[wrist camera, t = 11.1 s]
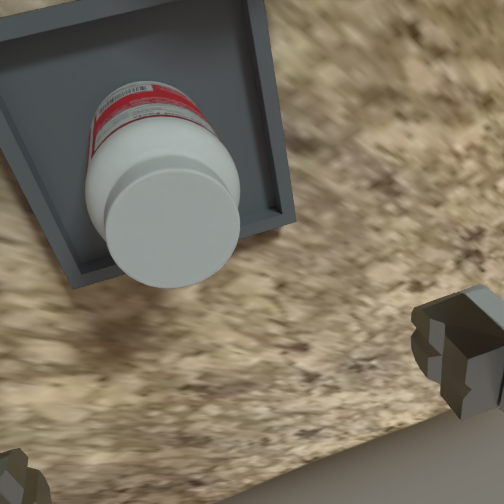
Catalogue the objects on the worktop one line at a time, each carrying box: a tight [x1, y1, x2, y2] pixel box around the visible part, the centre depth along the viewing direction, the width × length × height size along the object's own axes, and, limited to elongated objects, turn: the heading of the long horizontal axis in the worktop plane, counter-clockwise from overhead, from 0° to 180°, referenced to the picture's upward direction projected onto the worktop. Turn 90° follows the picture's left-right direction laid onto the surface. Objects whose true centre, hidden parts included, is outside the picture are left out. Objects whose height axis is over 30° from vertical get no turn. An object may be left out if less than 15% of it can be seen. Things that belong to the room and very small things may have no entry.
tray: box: [0, 0, 297, 290], centre depth 25 cm, size 14×14×2 cm
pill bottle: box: [85, 81, 240, 289], centre depth 20 cm, size 6×6×11 cm
